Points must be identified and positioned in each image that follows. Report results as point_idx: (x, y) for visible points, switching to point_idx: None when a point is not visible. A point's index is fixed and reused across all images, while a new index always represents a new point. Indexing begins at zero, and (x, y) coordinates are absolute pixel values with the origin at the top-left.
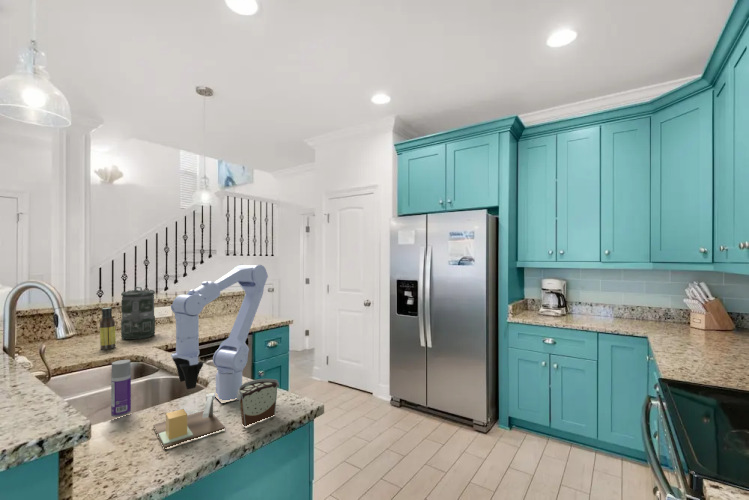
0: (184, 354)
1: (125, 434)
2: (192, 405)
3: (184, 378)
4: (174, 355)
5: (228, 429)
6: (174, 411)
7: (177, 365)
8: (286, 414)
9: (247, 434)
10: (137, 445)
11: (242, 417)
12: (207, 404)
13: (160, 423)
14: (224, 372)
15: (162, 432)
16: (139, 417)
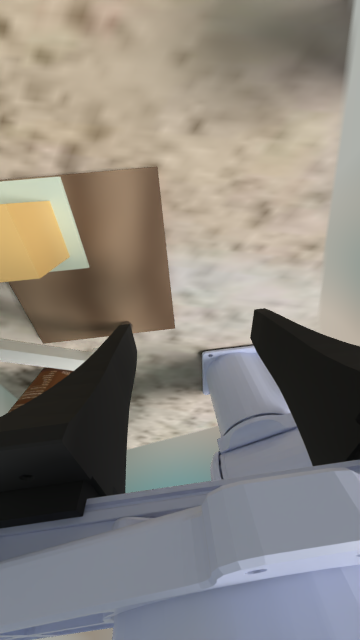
0: (119, 627)
1: (166, 39)
2: (253, 295)
3: (258, 331)
4: (213, 570)
5: (53, 343)
6: (20, 243)
7: (321, 358)
8: None
9: (13, 368)
10: (35, 88)
11: (38, 384)
12: (6, 355)
13: (154, 193)
14: (237, 428)
15: (61, 190)
16: (295, 124)
